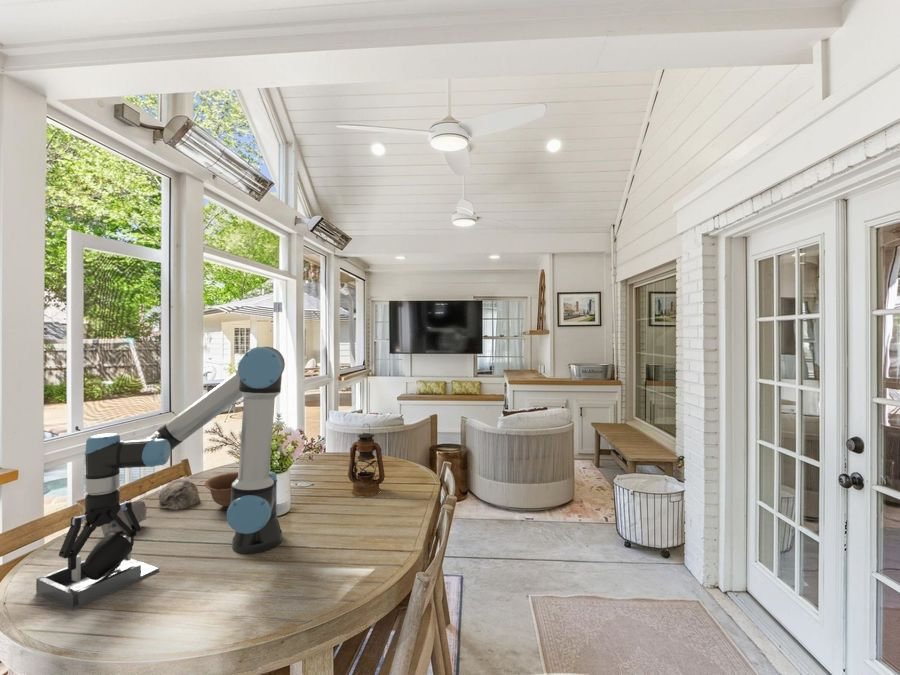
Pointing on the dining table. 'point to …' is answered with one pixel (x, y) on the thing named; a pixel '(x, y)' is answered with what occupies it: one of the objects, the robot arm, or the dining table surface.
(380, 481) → the lantern
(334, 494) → the dining table surface
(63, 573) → the grey rectangular tray
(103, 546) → the black rounded cylinder
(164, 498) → the rock
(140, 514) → the mauve grey rounded block
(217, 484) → the bowl
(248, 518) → the robot arm
